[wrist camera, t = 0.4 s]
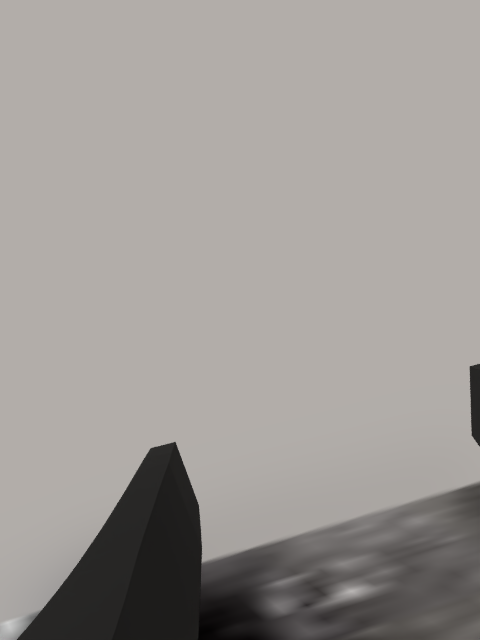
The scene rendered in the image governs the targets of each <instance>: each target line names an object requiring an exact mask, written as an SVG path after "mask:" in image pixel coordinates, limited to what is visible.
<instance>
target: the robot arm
mask: <svg viewBox="0 0 480 640" xmlns="http://www.w3.org/2000/svg"><path fill="white" fill-rule="evenodd" d="M470 390H471V391H470V392H471V425H472V436H473V438H474V439H475V440H476V442H477V443H478V445H479V446H480V364H477V365H474V366H470ZM201 559H202V542H201V526H200V514H199V505H198V502H197V499H196V496H195V494H194V491H193V488H192V485H191V483H190V480H189V478H188V475H187V472H186V469H185V467H184V464H183V461H182V458H181V456H180V453H179V450H178V448H177V445H176V442H174V443H170V444H166V445H162V446H158V447H154V448H151V449H150V450H149V452H148V454H147V455H146V457H145V458H144V460H143V462H142V463H141V465H140V467H139V468H138V470H137V472H136V474H135V475H134V477H133V479H132V480H131V482H130V484H129V485H128V487H127V489H126V490H125V492H124V494H123V495H122V497H121V499H120V500H119V502H118V503H117V505H116V507H115V508H114V510H113V512H112V513H111V515H110V516H109V518H108V519H107V521H106V523H105V524H104V526H103V527H102V529H101V530H100V532H99V533H98V535H97V536H96V538H95V539H94V541H93V543H92V544H91V545H90V547H89V548H88V549H87V551H86V552H85V554H84V555H83V557H82V558H81V560H80V561H79V563H78V564H77V565H76V567H75V568H74V569H73V571H72V572H71V574H70V575H69V576H68V578H67V579H66V580H65V581H64V583H63V584H62V585H61V587H60V588H59V589H58V591H57V592H56V593H55V594H54V596H53V597H52V598H51V599H50V601H49V602H48V603H47V604H46V606H45V607H44V608H43V609H42V611H41V612H40V613H39V614H38V616H37V617H36V618H35V619H34V620H33V622H32V623H31V624H30V625H29V626H28V627H27V629H26V630H25V631H24V632H23V633H22V634H21V635H20V637H19V638H18V639H17V640H198V631H199V608H200V586H201Z"/></svg>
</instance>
